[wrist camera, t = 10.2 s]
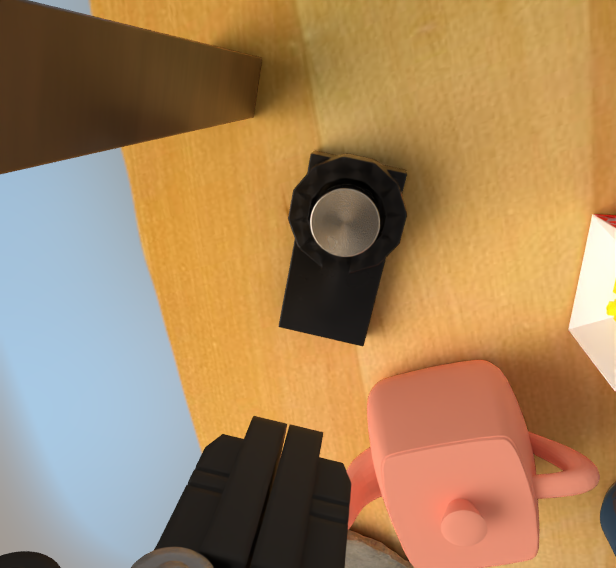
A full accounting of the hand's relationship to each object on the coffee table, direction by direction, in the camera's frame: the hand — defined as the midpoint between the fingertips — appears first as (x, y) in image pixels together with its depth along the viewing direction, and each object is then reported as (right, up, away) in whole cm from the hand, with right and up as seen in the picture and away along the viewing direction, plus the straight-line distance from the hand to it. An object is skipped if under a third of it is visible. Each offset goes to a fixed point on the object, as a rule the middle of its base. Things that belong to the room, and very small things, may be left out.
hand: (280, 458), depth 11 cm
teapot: (+10, -7, +29) cm, 32 cm away
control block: (+3, +6, +25) cm, 26 cm away
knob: (+3, +8, +21) cm, 23 cm away
